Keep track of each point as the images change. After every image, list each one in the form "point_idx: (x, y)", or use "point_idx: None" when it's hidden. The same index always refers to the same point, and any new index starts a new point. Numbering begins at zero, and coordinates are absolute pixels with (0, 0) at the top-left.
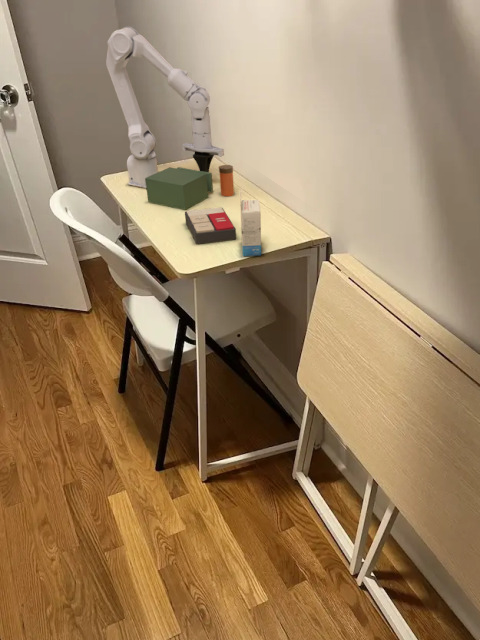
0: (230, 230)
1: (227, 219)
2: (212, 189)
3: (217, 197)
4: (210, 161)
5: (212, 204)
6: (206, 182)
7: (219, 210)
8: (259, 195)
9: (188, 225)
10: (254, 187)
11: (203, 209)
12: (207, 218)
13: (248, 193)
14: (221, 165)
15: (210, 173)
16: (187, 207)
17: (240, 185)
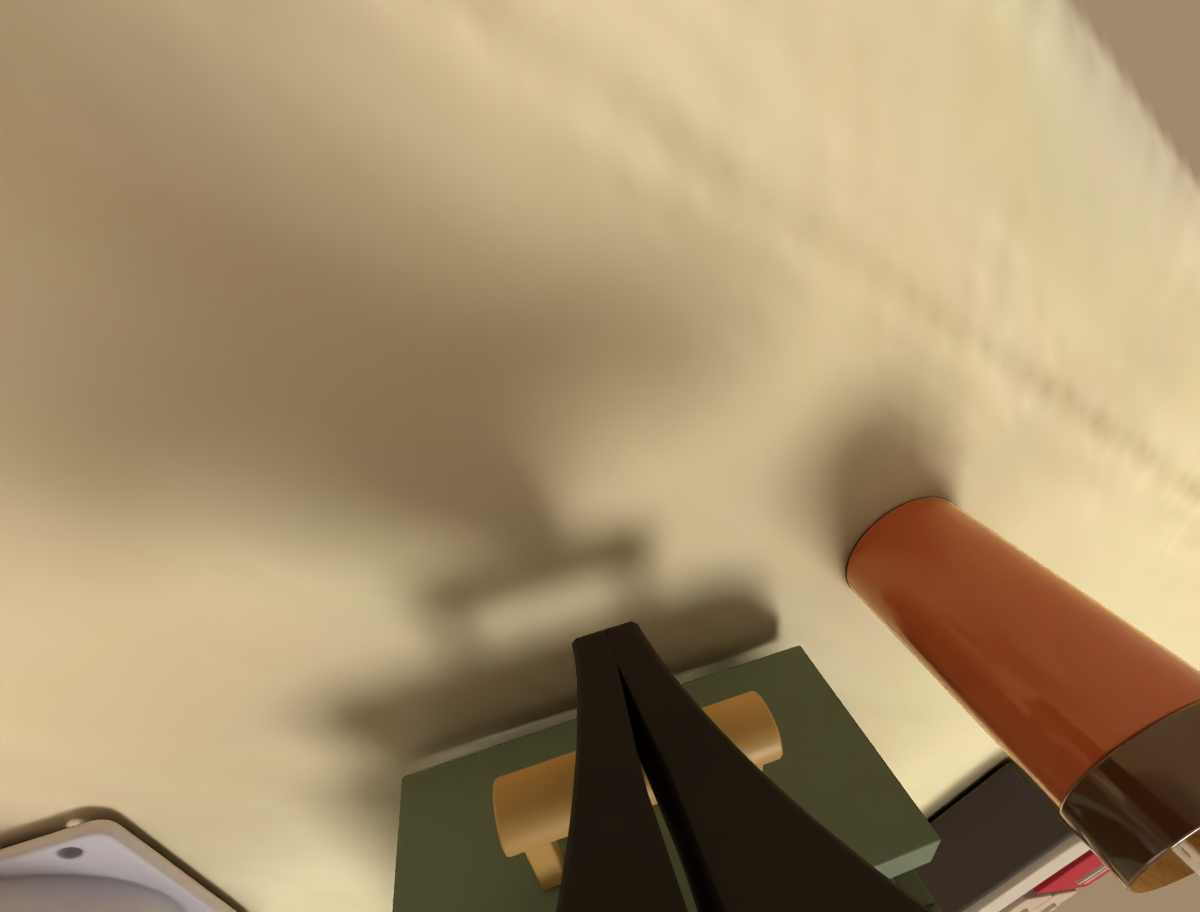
0: None
1: None
2: (809, 664)
3: (854, 639)
4: (813, 840)
5: (878, 715)
6: None
7: (1075, 854)
8: (1186, 374)
9: None
10: (1128, 196)
11: (1000, 899)
12: (1040, 899)
13: (1081, 405)
14: (1162, 855)
15: (934, 853)
16: None
17: (943, 256)
